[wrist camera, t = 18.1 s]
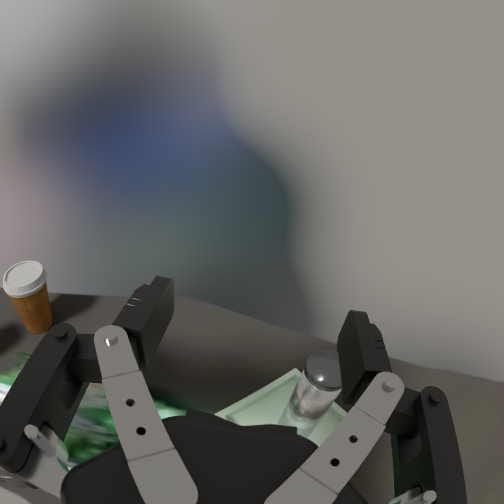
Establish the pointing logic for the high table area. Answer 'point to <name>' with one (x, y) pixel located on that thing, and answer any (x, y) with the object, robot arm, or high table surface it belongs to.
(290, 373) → the tray
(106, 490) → the robot arm
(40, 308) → the disposable coffee cup
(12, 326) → the high table surface
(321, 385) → the canister
